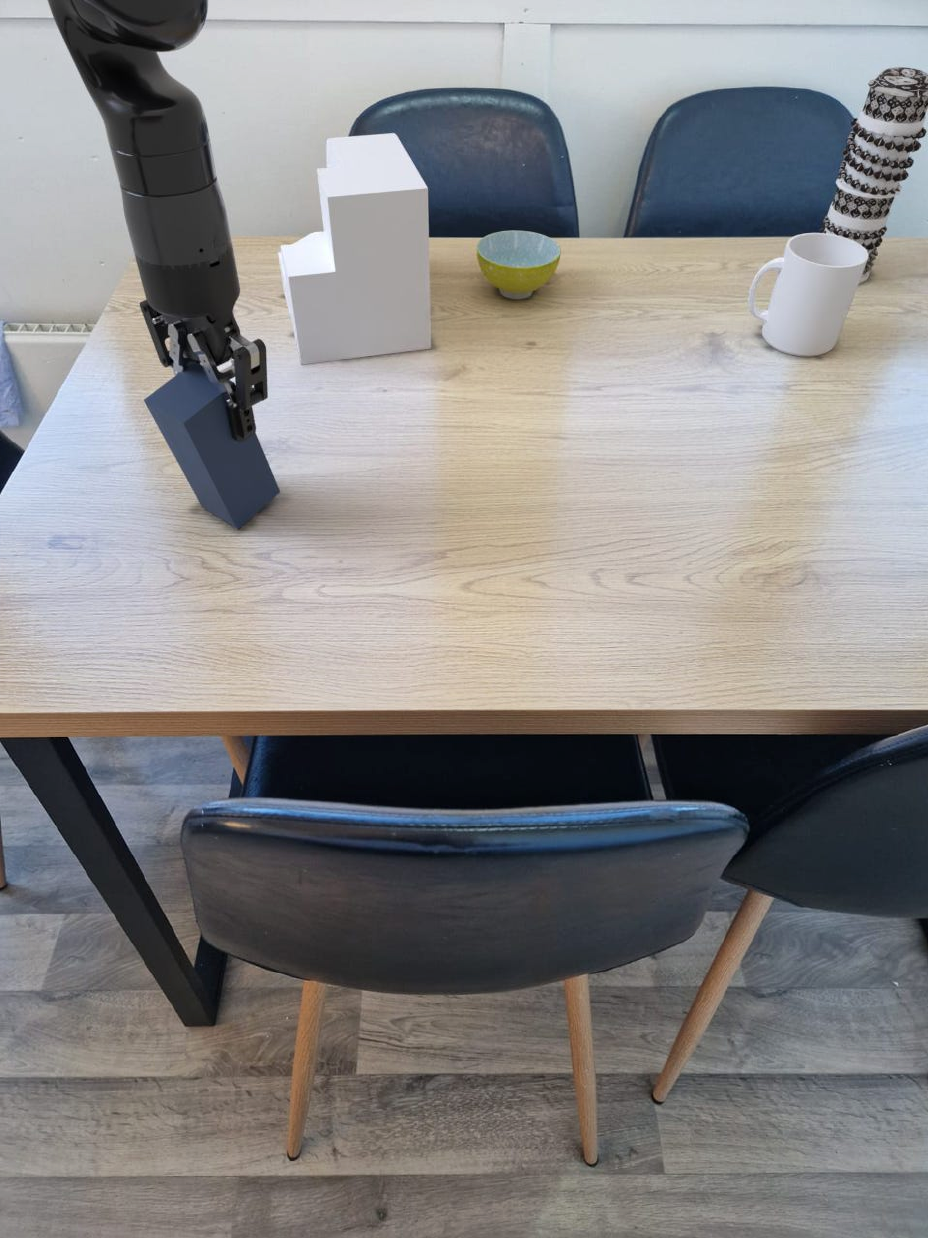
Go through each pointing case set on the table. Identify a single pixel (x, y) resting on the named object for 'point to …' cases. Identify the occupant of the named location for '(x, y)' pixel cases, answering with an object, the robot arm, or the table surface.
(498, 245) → the bowl
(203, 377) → the rectangular box
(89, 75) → the robot arm
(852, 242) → the mug
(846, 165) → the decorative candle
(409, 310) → the block
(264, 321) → the table surface
